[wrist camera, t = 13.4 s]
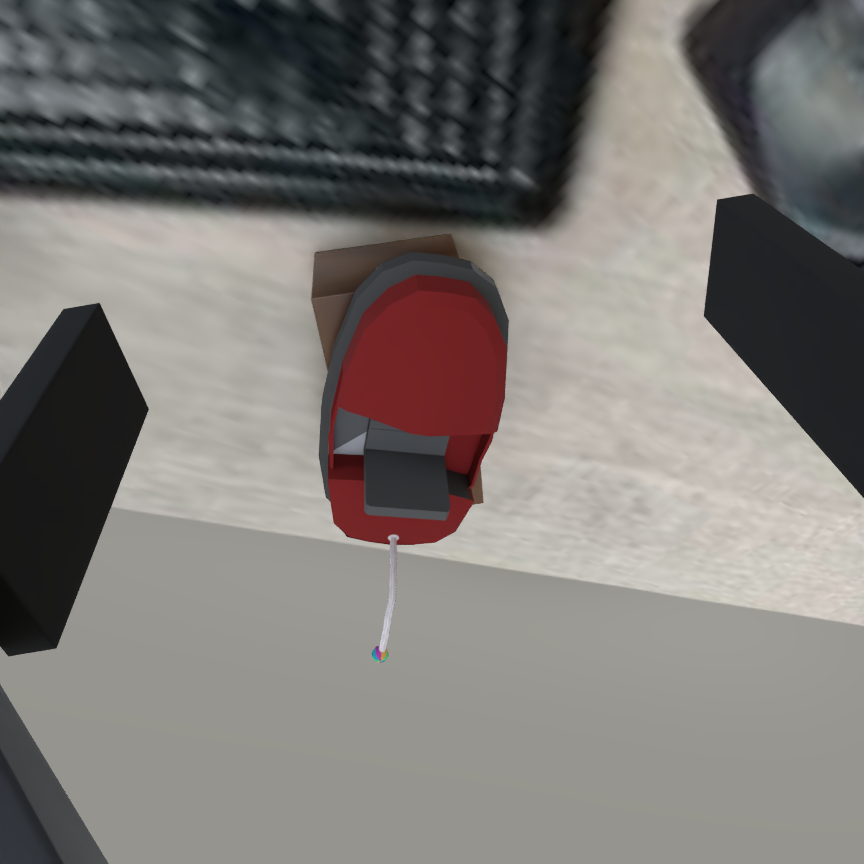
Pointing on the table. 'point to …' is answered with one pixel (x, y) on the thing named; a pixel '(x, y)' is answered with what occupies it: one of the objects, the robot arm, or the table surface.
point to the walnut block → (348, 271)
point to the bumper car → (412, 403)
